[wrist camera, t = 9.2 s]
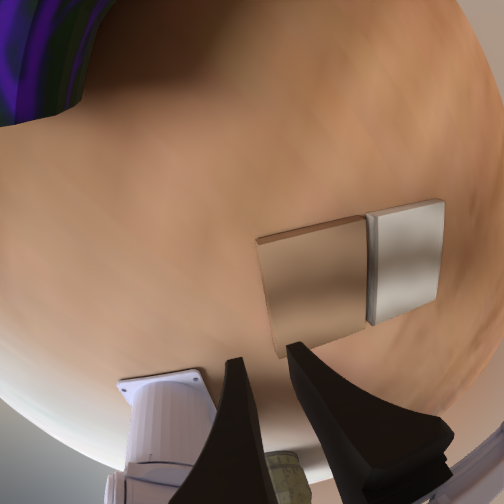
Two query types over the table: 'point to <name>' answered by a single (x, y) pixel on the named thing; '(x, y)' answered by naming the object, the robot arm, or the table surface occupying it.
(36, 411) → the table surface
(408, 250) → the laid board
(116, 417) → the table surface
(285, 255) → the plank
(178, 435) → the robot arm
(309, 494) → the thermos
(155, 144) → the table surface
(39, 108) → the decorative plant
